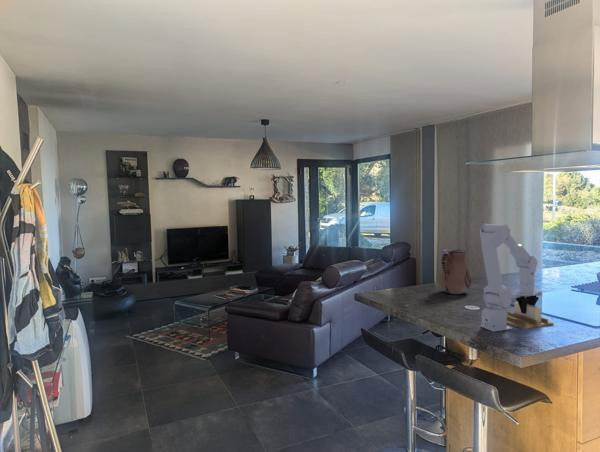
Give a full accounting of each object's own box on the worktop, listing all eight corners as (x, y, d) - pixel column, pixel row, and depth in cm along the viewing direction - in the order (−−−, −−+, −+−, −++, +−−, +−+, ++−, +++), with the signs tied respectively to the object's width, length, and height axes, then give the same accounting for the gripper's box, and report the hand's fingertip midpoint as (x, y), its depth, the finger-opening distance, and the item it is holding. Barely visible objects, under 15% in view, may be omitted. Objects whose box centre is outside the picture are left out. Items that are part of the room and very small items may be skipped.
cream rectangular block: (535, 322, 180) (535, 308, 180) (514, 315, 192) (514, 302, 191) (541, 321, 181) (541, 308, 180) (520, 314, 192) (520, 301, 192)
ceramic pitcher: (475, 291, 247) (475, 249, 245) (462, 298, 231) (461, 253, 230) (446, 288, 258) (445, 247, 257) (431, 294, 243) (431, 251, 241)
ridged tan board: (522, 329, 175) (522, 323, 175) (492, 318, 193) (492, 312, 192) (553, 325, 179) (553, 319, 179) (521, 314, 197) (521, 309, 196)
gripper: (520, 285, 180) (520, 316, 181) (547, 282, 184) (547, 313, 184) (507, 282, 187) (508, 312, 188) (534, 279, 190) (534, 309, 191)
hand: (526, 312), depth 186 cm, fingers closed on cream rectangular block, 3 cm apart
